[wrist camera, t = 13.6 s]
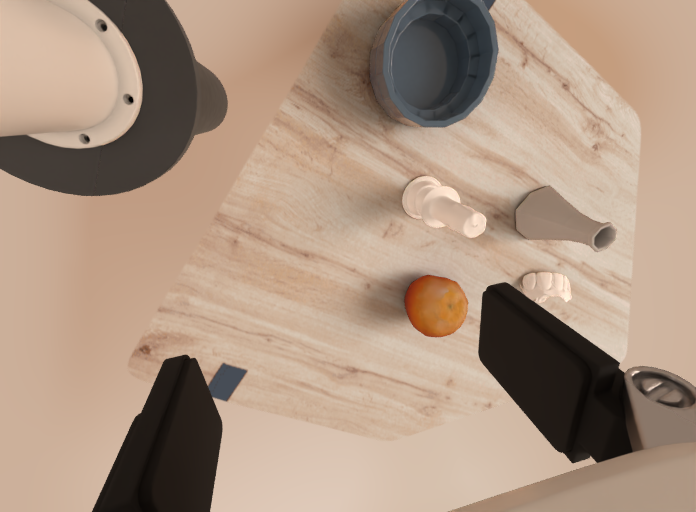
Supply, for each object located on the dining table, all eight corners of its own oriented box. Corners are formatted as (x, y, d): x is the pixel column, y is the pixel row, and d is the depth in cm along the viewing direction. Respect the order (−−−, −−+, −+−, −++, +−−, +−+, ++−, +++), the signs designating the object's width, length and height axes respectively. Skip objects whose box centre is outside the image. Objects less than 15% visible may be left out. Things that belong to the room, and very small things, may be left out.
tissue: (535, 258, 47) (556, 270, 44) (568, 277, 50) (590, 289, 47) (512, 289, 49) (530, 302, 45) (546, 305, 52) (565, 319, 48)
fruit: (386, 328, 45) (419, 334, 37) (396, 272, 46) (429, 268, 39) (434, 338, 47) (474, 345, 40) (441, 285, 49) (481, 283, 41)
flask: (566, 216, 45) (638, 241, 36) (523, 247, 46) (584, 279, 37) (551, 175, 42) (627, 191, 33) (505, 209, 43) (567, 234, 34)
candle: (396, 186, 38) (445, 213, 28) (437, 168, 38) (501, 189, 28) (408, 225, 41) (457, 264, 30) (446, 208, 41) (508, 242, 30)
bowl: (350, 98, 33) (363, 96, 29) (397, -23, 30) (419, -47, 26) (437, 141, 37) (460, 145, 33) (487, 38, 34) (519, 26, 29)
